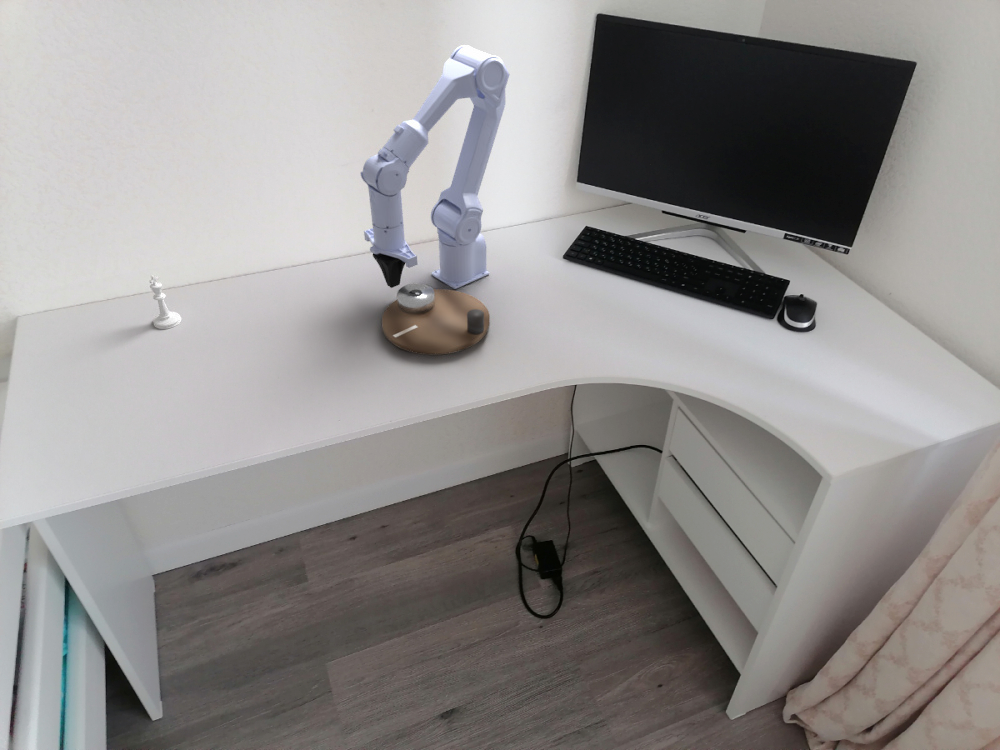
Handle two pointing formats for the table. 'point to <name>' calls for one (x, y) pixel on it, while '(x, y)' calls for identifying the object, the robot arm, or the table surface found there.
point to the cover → (416, 298)
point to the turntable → (438, 324)
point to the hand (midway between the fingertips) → (393, 285)
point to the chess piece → (163, 308)
